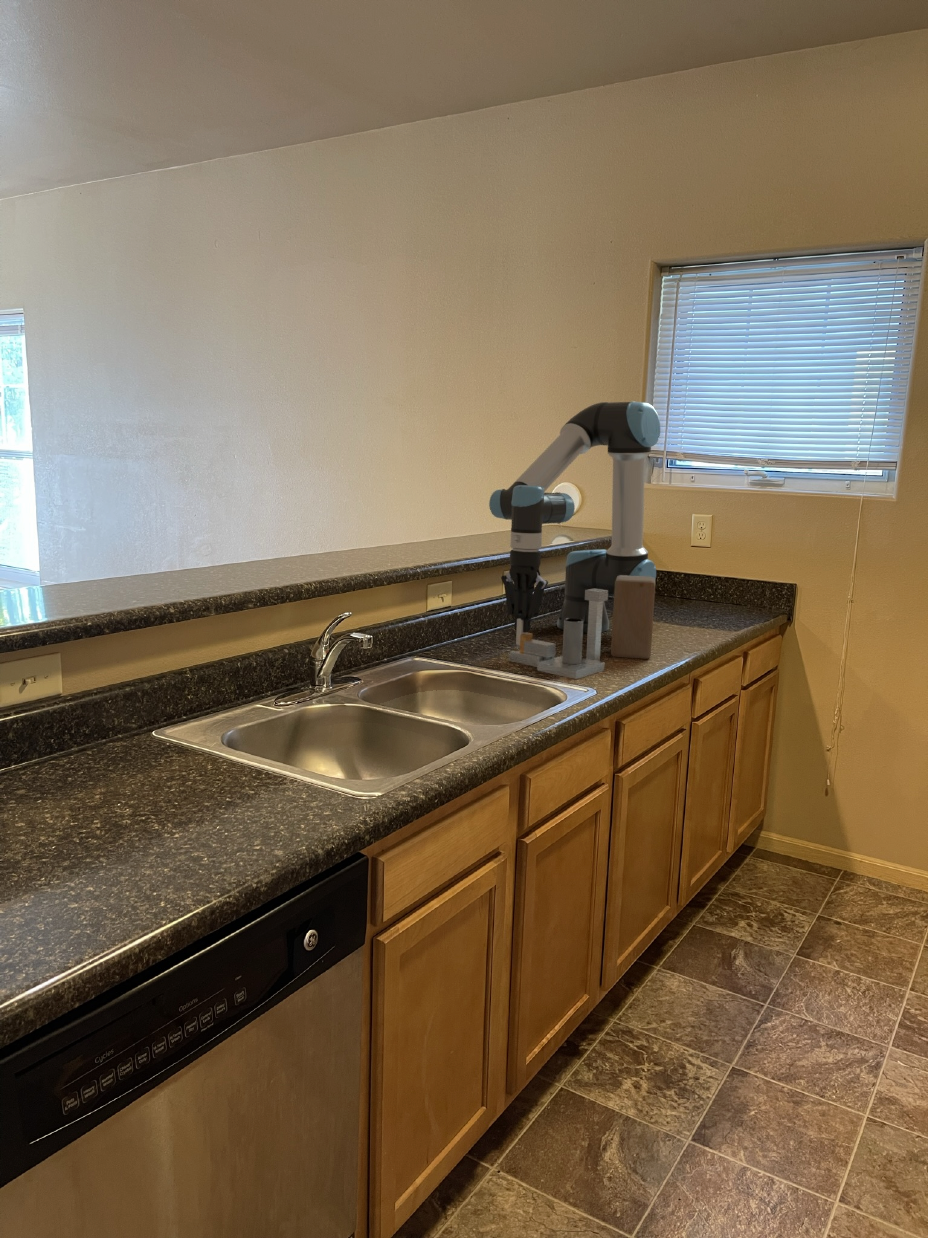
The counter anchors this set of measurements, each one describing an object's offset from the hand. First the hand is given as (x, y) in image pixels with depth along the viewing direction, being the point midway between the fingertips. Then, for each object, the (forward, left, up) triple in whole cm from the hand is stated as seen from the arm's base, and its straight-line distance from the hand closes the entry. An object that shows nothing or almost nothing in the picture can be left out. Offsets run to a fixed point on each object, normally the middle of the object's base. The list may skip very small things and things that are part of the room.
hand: (521, 644), depth 227 cm
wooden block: (-26, +16, -4) cm, 31 cm away
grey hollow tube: (0, +15, -2) cm, 15 cm away
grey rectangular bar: (0, +5, -2) cm, 5 cm away
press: (-3, +10, -4) cm, 11 cm away
